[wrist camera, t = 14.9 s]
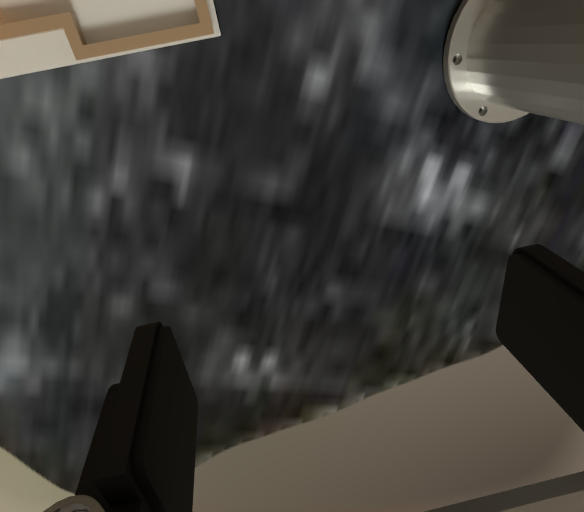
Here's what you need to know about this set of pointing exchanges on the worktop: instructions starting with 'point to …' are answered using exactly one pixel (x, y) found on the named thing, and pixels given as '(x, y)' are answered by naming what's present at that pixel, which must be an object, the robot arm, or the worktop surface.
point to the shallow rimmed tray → (95, 30)
